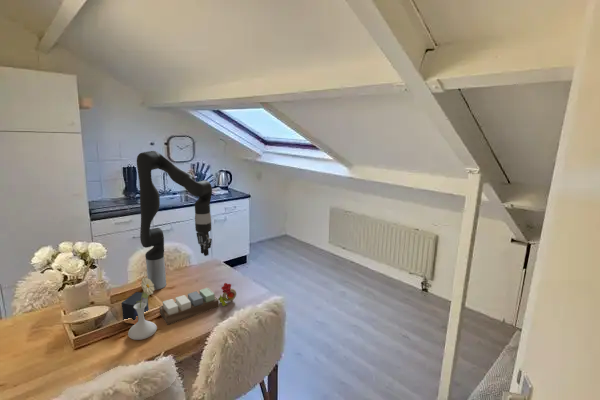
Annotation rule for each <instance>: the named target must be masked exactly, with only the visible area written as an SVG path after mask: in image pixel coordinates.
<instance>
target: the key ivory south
mask: <svg viewBox="0 0 600 400" xmlns="http://www.w3.org/2000/svg"><path fill="white" fill-rule="evenodd" d="M175 302H176V301H175V300H174V299H173V298H171V299H166V300H163V301H162V306H163V309H164V310H165V312H166V313H167V314H168V316H169V315H172V314H175V313H178V305H177V304H176V303H175Z"/></svg>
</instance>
